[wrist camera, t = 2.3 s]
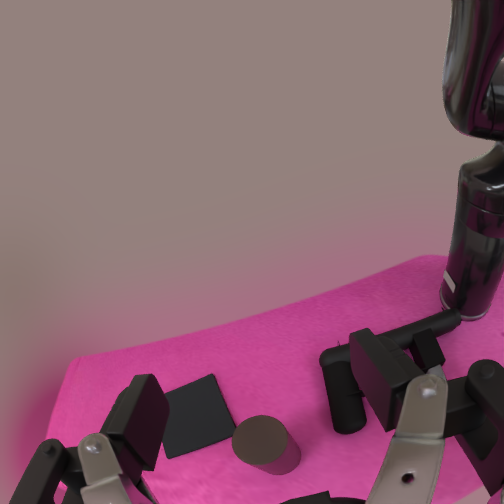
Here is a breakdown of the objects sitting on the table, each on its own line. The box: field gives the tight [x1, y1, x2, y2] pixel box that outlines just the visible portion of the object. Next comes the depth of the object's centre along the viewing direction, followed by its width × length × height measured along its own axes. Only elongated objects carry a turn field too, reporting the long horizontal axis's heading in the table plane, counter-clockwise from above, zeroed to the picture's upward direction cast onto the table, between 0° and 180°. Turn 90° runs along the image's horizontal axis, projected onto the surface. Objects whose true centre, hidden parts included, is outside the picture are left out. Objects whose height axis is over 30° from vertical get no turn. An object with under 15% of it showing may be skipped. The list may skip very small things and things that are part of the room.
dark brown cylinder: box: [232, 415, 301, 475], centre depth 21 cm, size 5×5×9 cm
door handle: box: [319, 308, 461, 434], centre depth 25 cm, size 3×20×16 cm
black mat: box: [162, 374, 236, 459], centre depth 30 cm, size 10×10×1 cm
